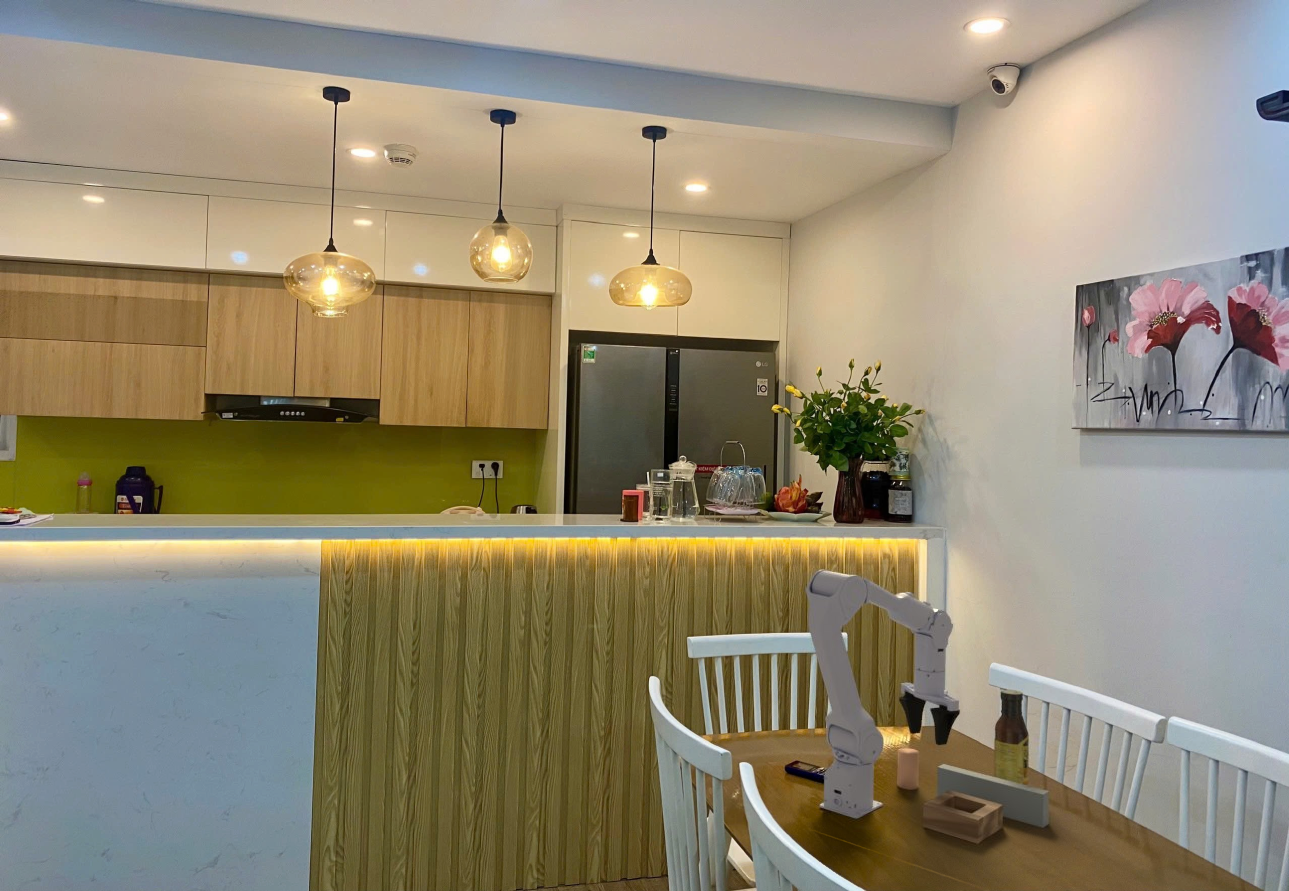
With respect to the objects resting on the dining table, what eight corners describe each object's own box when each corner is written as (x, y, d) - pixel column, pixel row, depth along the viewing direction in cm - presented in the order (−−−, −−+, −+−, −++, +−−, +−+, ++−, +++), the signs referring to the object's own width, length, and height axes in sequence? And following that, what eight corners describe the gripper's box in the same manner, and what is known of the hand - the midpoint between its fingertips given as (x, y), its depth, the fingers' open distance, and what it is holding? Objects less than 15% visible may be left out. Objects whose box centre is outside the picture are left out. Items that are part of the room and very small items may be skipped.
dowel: (912, 791, 184) (912, 755, 185) (893, 786, 187) (894, 751, 187) (921, 786, 187) (922, 751, 187) (903, 781, 190) (904, 746, 190)
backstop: (1042, 828, 167) (1043, 794, 168) (936, 798, 181) (937, 766, 181) (1048, 824, 169) (1048, 790, 169) (943, 794, 183) (943, 763, 183)
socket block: (977, 843, 160) (978, 819, 160) (922, 826, 167) (923, 803, 167) (1002, 827, 167) (1002, 804, 167) (948, 811, 174) (949, 789, 174)
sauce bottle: (1031, 801, 180) (1032, 697, 180) (996, 798, 182) (998, 695, 182) (1024, 789, 187) (1026, 689, 187) (991, 787, 188) (992, 686, 188)
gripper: (971, 675, 181) (970, 747, 181) (921, 659, 194) (919, 726, 194) (942, 678, 178) (941, 750, 178) (893, 662, 191) (891, 729, 191)
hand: (927, 738), depth 186 cm, fingers open, 7 cm apart
